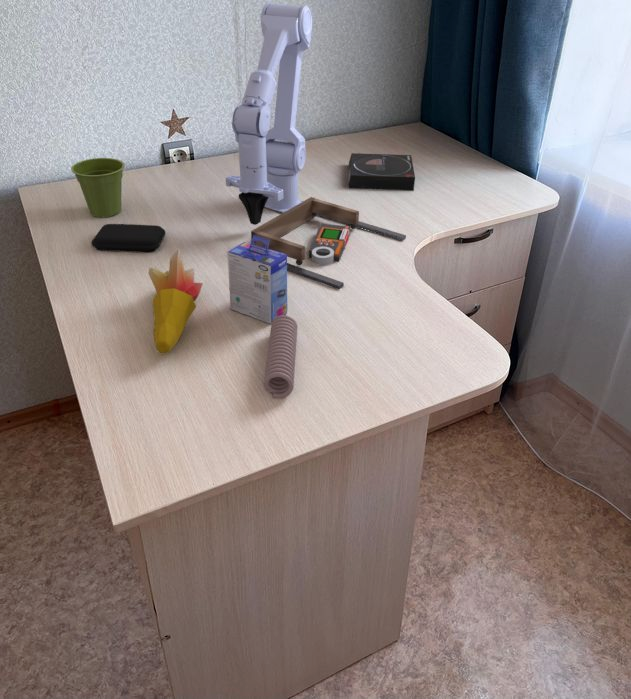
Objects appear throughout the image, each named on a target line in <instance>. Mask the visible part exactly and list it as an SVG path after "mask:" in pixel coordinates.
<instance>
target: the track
mask: <svg viewBox="0 0 631 699" xmlns="http://www.w3.org/2000/svg"><path fill="white" fill-rule="evenodd" d="M316 216H317V217H318V216H319V217H322V218H325V219H328V220H331V221H335V222H338V223H342V224H345V225H348V226H350V225H351V224H350V223H346V222H343V221H340V220H336V219H333V218H330V217H327V216H323V215H320V214H317V215H316ZM358 227H359V228H358ZM356 228H358V229H361V228H363V229H362V230H364V229H366V230H365V231H368V230H369V231H368V232H371V231H372V232H371V233H374V232H376V233H375V234H377V233H379V234H378V235H381V234H382V236H384V235H385V236H384V237H387V236H388V238H392V239H395V240H397V241H400V240H401V241H400V242H403V241H404V240H406V238H407V235H406V234H404V233H400V232H397V231H394V230H390V229H386V228H383V227H379V226H376V225H373V224H370V223H366V222H364V221H360V220H359V222H358V224H357V225H356ZM287 272H288V273H289V272H290V273H292V274H294V275H298V276H300V277H303V278H306V279H309V280H311V281H314V282H316V283H318V284H319V283H320V284H322V285H326V286H328V287H330V288H334V289H336V290H340V289H342V288H343V287H344V282H342V281H340V280H338V279H334V278H331V277H329V276H326V275H323V274H320V273H317V272H314V271H312V270H308V269H307V268H303V267H300V266H299V265H294V264H292V263H289V262H287Z"/></svg>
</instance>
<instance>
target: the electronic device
mask: <svg viewBox="0 0 631 699" xmlns="http://www.w3.org/2000/svg"><path fill="white" fill-rule="evenodd" d="M350 237H351V228H350V225H348V226H347V225H339V224H330V223H321V224H320V226H319V227H318V230H317V231H316V234H315V236H314V237H313V241H312V242H311V245H310V246H309V249H308V259H311V262H312V263H313V264H314V265H318V266H329V265H332V263H333V262H338V263H339V262H340V261H341V258H342V256H343V254H344V251H345V250H346V248H347V246H348V242H349V239H350Z"/></svg>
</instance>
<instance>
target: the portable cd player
mask: <svg viewBox="0 0 631 699" xmlns="http://www.w3.org/2000/svg"><path fill="white" fill-rule="evenodd" d="M347 176H348V177H347V178H348V179H347V186H348V188H349V189H350V190H351V189H352V190H354V189H355V190H378V191H379V190H380V191H382V190H383V191H408V192H409V191H410V192H411V191H412V192H413V191H414V190H415V183H416V182H415V181H416V174H415V168H414V164H413V158H412V155H411V154H391V153H390V154H389V153H387V154H385V153H361V152H360V153H357V152H355V153H354V152H352V153H351V155H350V158H349V161H348V175H347Z"/></svg>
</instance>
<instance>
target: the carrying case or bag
mask: <svg viewBox="0 0 631 699" xmlns="http://www.w3.org/2000/svg"><path fill="white" fill-rule="evenodd" d="M166 233H167V232H166V230H165V229H164V228H163V227H162V226H160V225H155V224H153V225H152V224H131V223H129V224H127V223H106V224H104V225H103V226H102V227H100V229H99V231H98V232H97V234H96V235H94V237H93V239H91V242H90V243H91V245H92V247H93V248H95V249H96V250H98V251H107V252H108V251H109V252H112V251H113V252H128V253H131V252H134V253H153V252H156V251H157V250H158V249H159V247H160V246H161V244H162V242H163V240H164V238H165V236H166Z"/></svg>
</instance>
